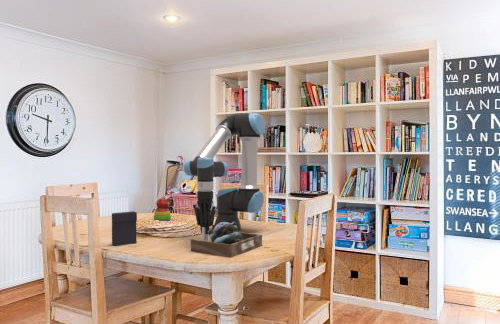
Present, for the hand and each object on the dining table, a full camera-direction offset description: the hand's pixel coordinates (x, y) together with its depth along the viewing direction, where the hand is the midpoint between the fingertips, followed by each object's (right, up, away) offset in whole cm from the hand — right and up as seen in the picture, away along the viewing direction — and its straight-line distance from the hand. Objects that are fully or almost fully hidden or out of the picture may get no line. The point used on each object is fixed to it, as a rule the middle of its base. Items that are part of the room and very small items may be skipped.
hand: (204, 240), depth 206 cm
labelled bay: (+10, -2, -6) cm, 12 cm away
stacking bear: (-28, -1, +40) cm, 49 cm away
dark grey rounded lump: (+10, -3, -5) cm, 11 cm away
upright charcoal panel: (-38, -2, +2) cm, 39 cm away
